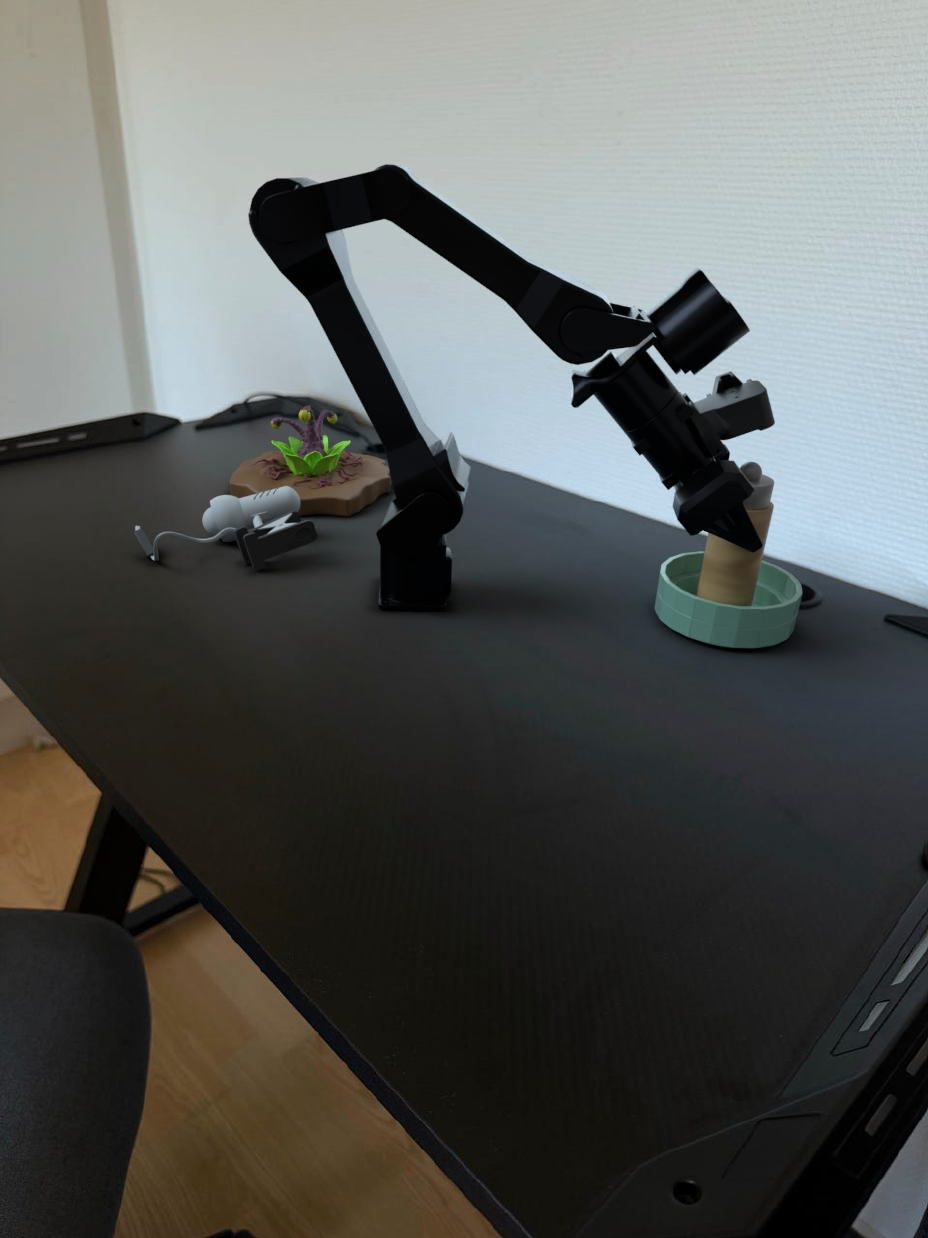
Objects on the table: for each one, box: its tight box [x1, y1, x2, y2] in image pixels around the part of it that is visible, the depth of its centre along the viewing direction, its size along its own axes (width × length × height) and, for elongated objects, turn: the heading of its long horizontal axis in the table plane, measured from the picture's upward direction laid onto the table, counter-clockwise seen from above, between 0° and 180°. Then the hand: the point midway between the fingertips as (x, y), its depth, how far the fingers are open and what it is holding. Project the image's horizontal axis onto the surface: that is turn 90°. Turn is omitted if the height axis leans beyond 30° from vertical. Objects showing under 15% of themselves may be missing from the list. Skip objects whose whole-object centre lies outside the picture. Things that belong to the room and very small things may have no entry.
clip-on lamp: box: [133, 486, 318, 572], centre depth 95 cm, size 12×6×18 cm
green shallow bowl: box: [654, 550, 803, 649], centre depth 86 cm, size 13×13×4 cm
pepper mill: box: [697, 461, 775, 607], centre depth 83 cm, size 5×5×14 cm
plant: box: [229, 405, 392, 518], centre depth 112 cm, size 20×20×11 cm
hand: (752, 537), depth 83 cm, fingers closed on pepper mill, 5 cm apart
